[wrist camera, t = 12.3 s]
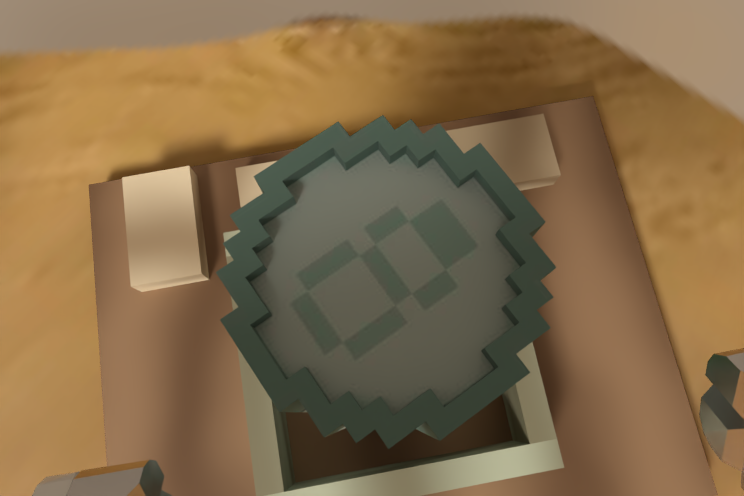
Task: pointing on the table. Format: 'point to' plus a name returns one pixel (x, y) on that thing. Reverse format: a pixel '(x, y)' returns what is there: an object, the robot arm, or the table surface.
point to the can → (386, 281)
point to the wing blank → (501, 139)
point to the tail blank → (164, 229)
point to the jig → (417, 450)
